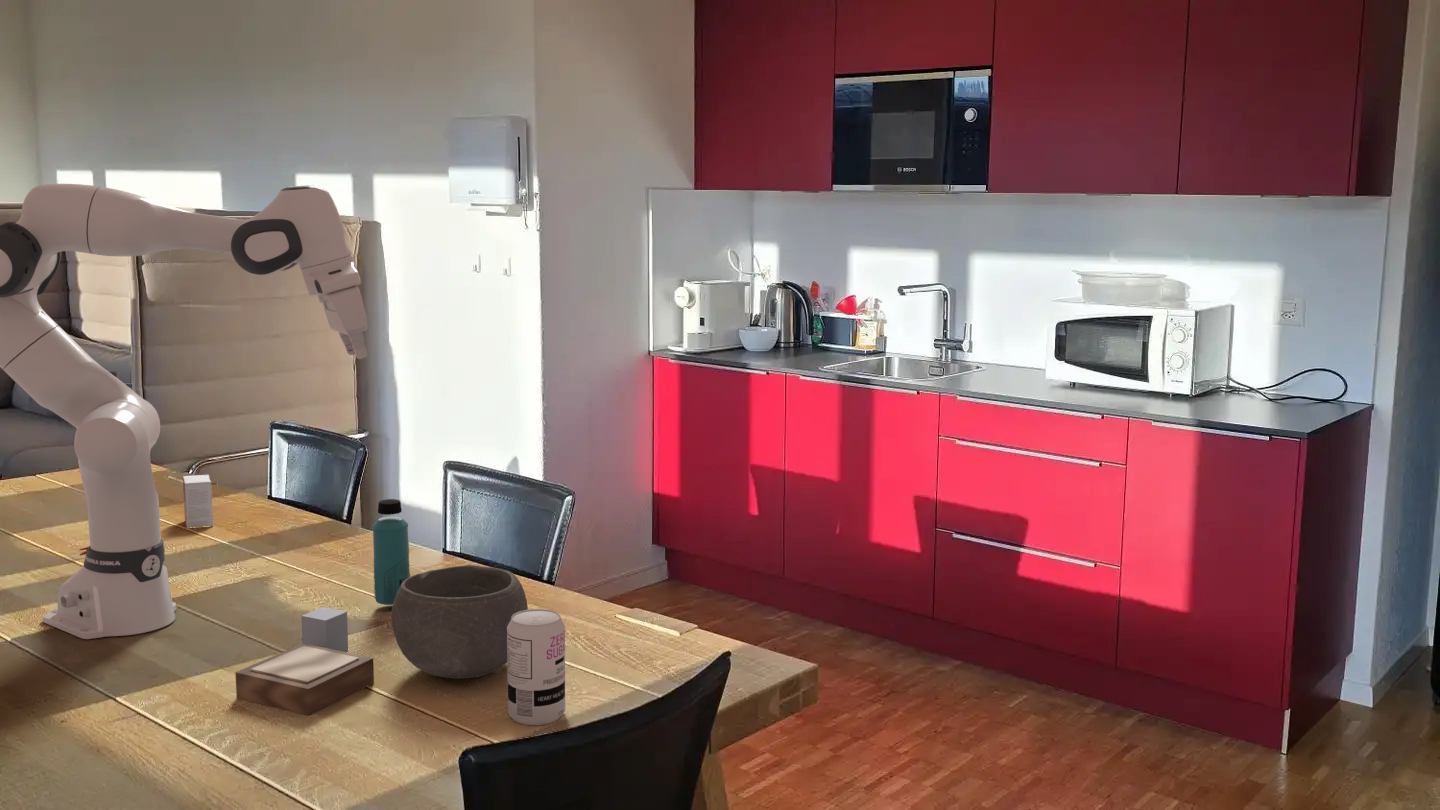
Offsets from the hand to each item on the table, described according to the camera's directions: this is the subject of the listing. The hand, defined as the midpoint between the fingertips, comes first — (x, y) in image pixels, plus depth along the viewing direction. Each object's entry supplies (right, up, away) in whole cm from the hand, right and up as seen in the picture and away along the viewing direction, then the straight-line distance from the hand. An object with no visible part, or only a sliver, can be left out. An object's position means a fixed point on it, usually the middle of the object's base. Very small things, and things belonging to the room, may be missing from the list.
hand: (358, 355), depth 218 cm
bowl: (+21, -51, -17) cm, 58 cm away
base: (-1, -52, -26) cm, 58 cm away
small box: (-55, -35, +68) cm, 95 cm away
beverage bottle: (+2, -45, +13) cm, 48 cm away
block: (-2, -49, -11) cm, 50 cm away
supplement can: (+35, -54, -33) cm, 72 cm away
